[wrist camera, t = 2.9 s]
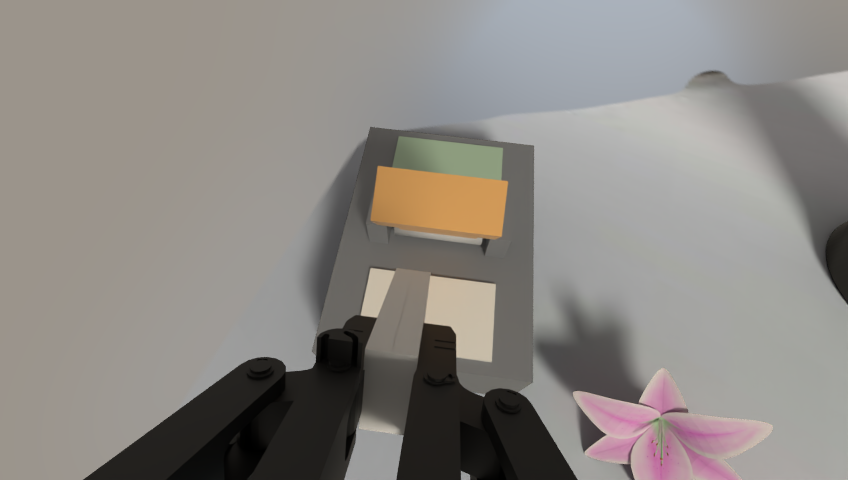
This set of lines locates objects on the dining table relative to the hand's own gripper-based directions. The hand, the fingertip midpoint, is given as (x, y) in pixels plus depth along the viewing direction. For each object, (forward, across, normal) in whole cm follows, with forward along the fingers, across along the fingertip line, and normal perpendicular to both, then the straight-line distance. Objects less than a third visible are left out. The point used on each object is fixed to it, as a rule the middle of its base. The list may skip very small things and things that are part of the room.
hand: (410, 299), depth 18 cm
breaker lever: (+17, +1, -1) cm, 17 cm away
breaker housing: (+23, +1, -7) cm, 24 cm away
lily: (+13, +19, -17) cm, 29 cm away
